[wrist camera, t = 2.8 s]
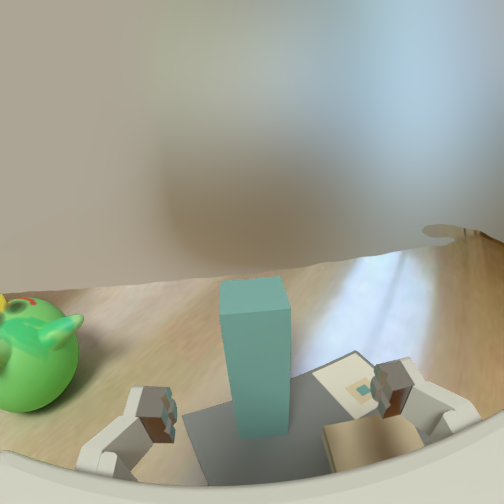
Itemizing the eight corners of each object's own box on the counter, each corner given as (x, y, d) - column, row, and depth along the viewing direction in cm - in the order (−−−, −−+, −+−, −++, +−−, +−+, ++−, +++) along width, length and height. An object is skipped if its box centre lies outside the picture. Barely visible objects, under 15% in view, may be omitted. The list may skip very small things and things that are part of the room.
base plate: (265, 589, 12) (264, 589, 11) (183, 420, 31) (177, 405, 29) (469, 455, 20) (481, 440, 19) (354, 355, 39) (357, 338, 38)
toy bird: (61, 342, 43) (32, 264, 38) (118, 385, 36) (82, 291, 30) (-15, 393, 29) (-59, 313, 23) (24, 459, 21) (-46, 369, 16)
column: (239, 438, 27) (219, 314, 21) (237, 404, 32) (220, 281, 26) (288, 434, 27) (290, 308, 21) (281, 400, 32) (280, 276, 26)
